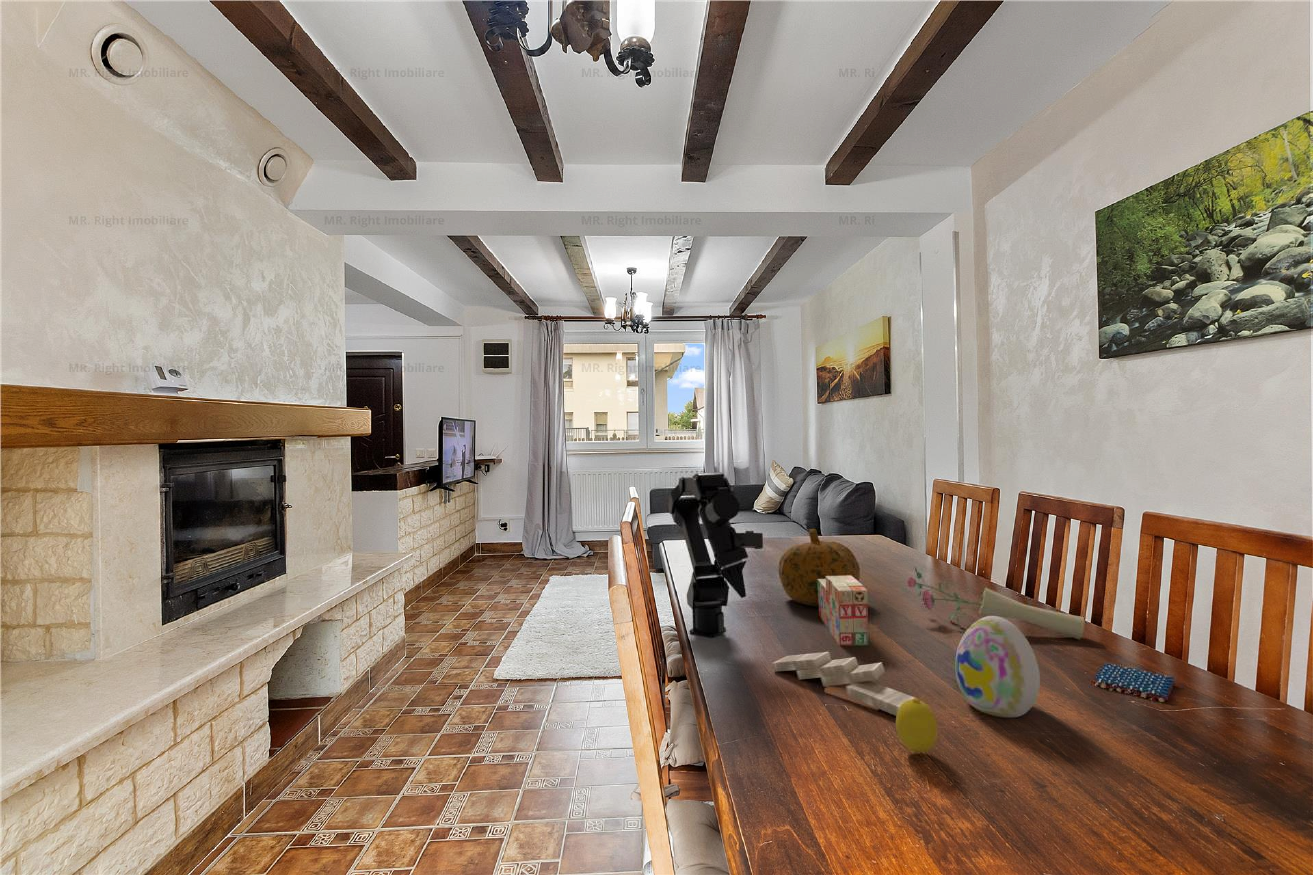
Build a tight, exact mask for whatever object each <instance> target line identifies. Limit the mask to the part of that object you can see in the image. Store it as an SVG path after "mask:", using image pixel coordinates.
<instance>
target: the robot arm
mask: <svg viewBox="0 0 1313 875" xmlns="http://www.w3.org/2000/svg"><path fill="white" fill-rule="evenodd" d="M684 493H692V494H693V495H683V494H684ZM668 498H669V499H668V513H669V514H670V515H671V517H672V520H673V522H674V523H675V524H676V525H677V526H678V527H680V528H681V530H682V533H683V537H684V540H685V544H686V548H687V551H688V555H689V556H688V557H689V559H690V562H691V563H690V564H691V565H692V570H693V571H692V575H691V578H690V583H689V585H688V589H687V592H686V602H687V605H688V606H689V607H690V608H691V612H692V613H691V614H692V628H691V629H689V633H690V634H693V635H694V634H695V635H699V636H704V637H709V638H714V637H716V636H718V635H719V634H720V633H722V632H725V631H726V630H727V627H726V626H725V616H724V615H725V614H724V611H723V607H728V602H729V592H730V591H729V590H730V586H731V587H732V589H733V590H734V591H735V592H736V594H737V595H738V596H739V597H740V598H742V599H743V598H746V597H747V592H746V587H745V580H744V574H743V570H744V568H745V565H746V564H747V560H745V559H748V558H749V555H748V552H747V550H746V549H754V550H761V549H763V548H764V534H763V533H762V532H755V531H754V530H745V531H744V532H737V531H736V529H735V527H733V526H732V524H731V520H732V519H734V518H735V517H737V515H738V513H740V512H739V511H740V502H739V500H738V499H737V497H736V496H735V490H734V489H733V486H732V485H731V484H730V482H729V479H728V478H727V477H726V476H725V474H724V473H723V472H722V471H721V472H719V471H718V472H699V473H697V472H696V473H694V475H689V476H688V475H687V476H682V477H679V478H678V484H677V485H676V486H675V487H674V488H673V489H672V491H670V494H669V497H668ZM700 520H701V522H702V526H703V528H704V531H705V534H706V538H707V540H708V542H709V544H710V547H711V550H712V553H713V557H714V561H713V563H712V558H711V557H710V554H709V551H708V546H707V544H706V540H705V536H704V533H703V530H702V526H701V524H700ZM743 560H744V561H743Z"/></svg>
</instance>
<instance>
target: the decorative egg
mask: <svg viewBox="0 0 1313 875" xmlns="http://www.w3.org/2000/svg"><path fill="white" fill-rule="evenodd" d="M957 646H958V647H957V648H956V649H957V650H956V654H955V659H954V660H955V661H954V662H955V663H954V666H955V667H954V670H955V677H956V681H957V685H958V687H959V690H960V692H961V693H962V695H963V696H964V699H966V700H967V702H968V704H970V706H971V707H973V708H974V709H976V710H977V711H979V712H981V713H984V714H986V715H989V716H994V717H999V718H1018V717H1022V716H1025V714H1026V713H1028V712H1029V711H1030V709H1031V708H1032V707H1033V706H1034V704H1035V703H1036V700H1037V699H1038V696H1039V692H1040V686H1041V685H1040V683H1041V675H1040V669H1039V664H1038V660H1037V658H1036V654H1035V652H1034V650H1033V648H1032V646H1031V645H1030V642H1029V641H1028V639H1027V638H1026V636H1025V635H1024V634H1023V633H1022V631H1021V630H1020V629H1019V628H1018V627H1017V626H1016V625H1014V624H1013V623H1012V622H1010V621H1009V620H1007V619H1006V618H1005V617H999V616H992V615H986V616H984V617H981V618H979V619H978V620H976V621H975V622H973V623H972V624H971V625H970V626H969V627H968V628H967V629H966V631H965V632H964V634H963V635H962V636H961V639H960V640H959V643H958V645H957Z"/></svg>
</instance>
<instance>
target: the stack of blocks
mask: <svg viewBox="0 0 1313 875" xmlns="http://www.w3.org/2000/svg"><path fill="white" fill-rule="evenodd" d="M817 587H818V603H819V606H818V616H819V617H820V618H821V621H822V622H823V623H824V625H825V627H826V628H827V629H828V631H830V633H831V635H832V636H833V639H834V640H835V641H836V643H837V645H838V646H839V647H841V646H845V647H846V646H847V647H851V646H852V647H853V646H869V629H868V626H869V625H868V624H869V622H868V621H869V620H868V617H869V611H868V610H869V607H868V604H869V603H868V598H869V597H868V595H869V594H868V590H867V588H865V586H864V585H863V584H862V583H861V582H860V581H859V582H858V581H857V580H856V579H855V578H854V577H852V576H851V575H848V576H826V579H817Z"/></svg>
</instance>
